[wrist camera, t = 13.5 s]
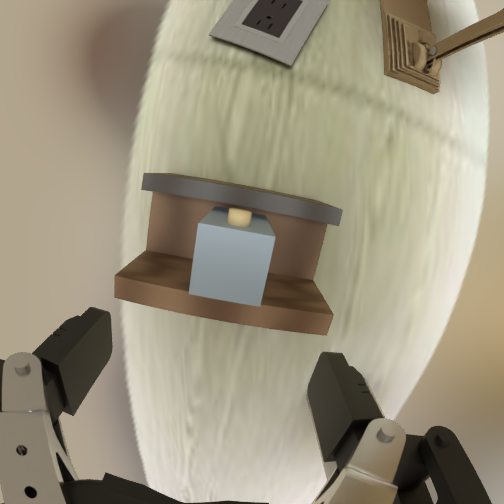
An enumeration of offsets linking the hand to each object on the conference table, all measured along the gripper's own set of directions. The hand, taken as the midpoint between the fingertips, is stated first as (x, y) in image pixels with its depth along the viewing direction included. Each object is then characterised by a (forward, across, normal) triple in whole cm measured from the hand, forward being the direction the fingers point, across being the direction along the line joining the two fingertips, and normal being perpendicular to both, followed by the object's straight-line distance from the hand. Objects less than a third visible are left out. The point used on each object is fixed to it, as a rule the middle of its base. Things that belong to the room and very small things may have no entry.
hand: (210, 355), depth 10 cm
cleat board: (+24, 0, 0) cm, 24 cm away
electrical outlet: (+25, +1, -28) cm, 38 cm away
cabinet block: (+19, 0, 0) cm, 19 cm away
